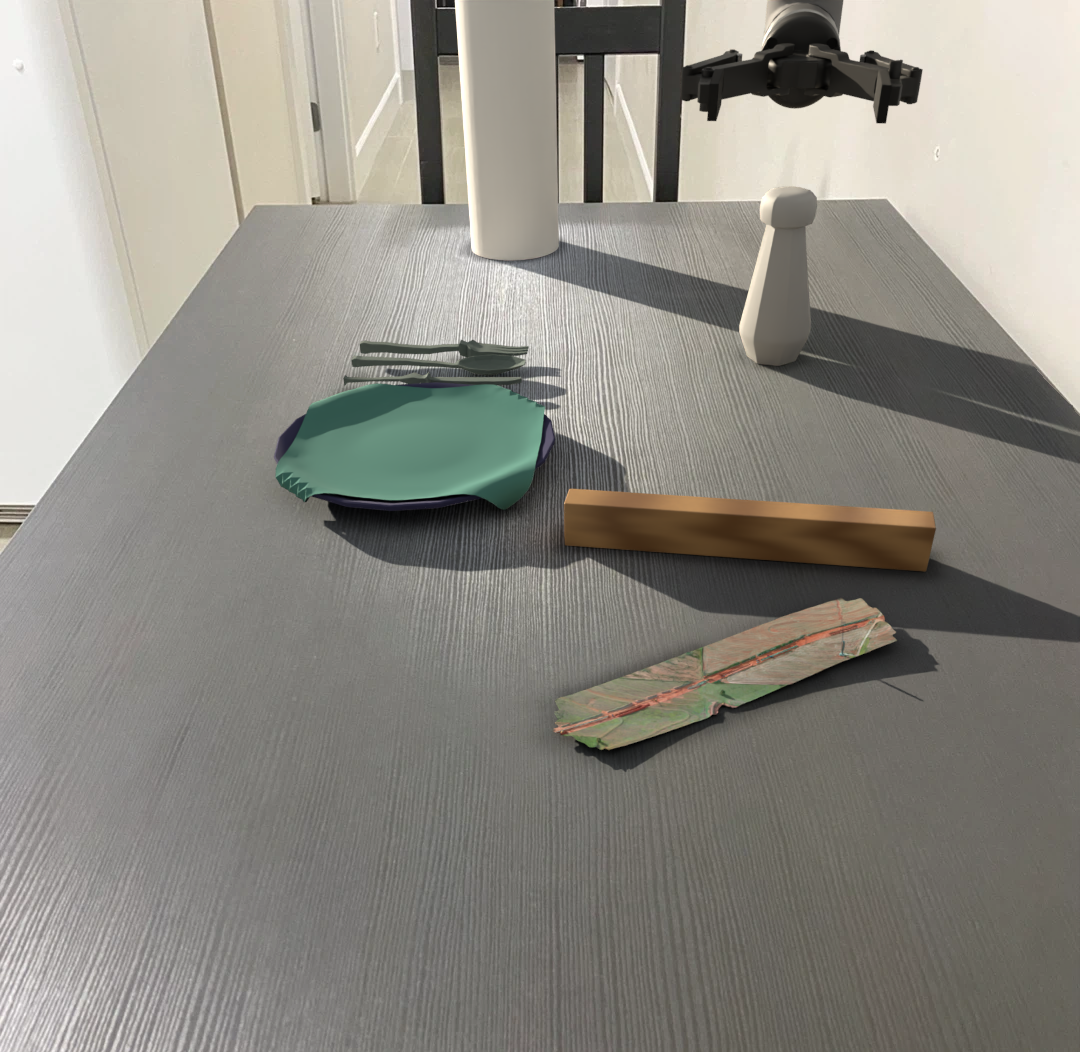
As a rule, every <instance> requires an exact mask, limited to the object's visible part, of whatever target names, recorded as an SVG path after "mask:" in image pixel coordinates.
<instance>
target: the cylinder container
mask: <svg viewBox="0 0 1080 1052" xmlns="http://www.w3.org/2000/svg"><path fill="white" fill-rule="evenodd" d="M454 7H455V8H454V9H455V22H456V23H455V24H456V36H457V39H456V40H457V50H458V52H457V54H458V67H459V83H460V96H461V111H462V125H463V138H464V141H463V142H464V154H465V168H466V169H465V170H466V171H465V172H466V183H467V184H466V185H467V186H466V187H467V199H468V200H467V202H468V214H469V228H470V246H471V251H472V253H473V254H475V255H476V256H479V257H480V258H485V259H488V260H489V259H490V260H495V261H524V260H533V259H537V258H542V257H545V256H549V255H551V254H553V253H555V252H556V251H558V249H559V247H560V246H559V245H560V234H559V233H560V232H559V231H560V228H559V185H558V184H559V181H558V177H559V176H558V131H557V130H558V127H557V124H558V123H557V75H556V74H557V73H556V72H557V71H556V69H557V68H556V21H555V19H556V17H555V0H454Z"/></svg>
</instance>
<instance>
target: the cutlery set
mask: <svg viewBox="0 0 1080 1052" xmlns="http://www.w3.org/2000/svg"><path fill="white" fill-rule="evenodd" d="M529 347H530V346H529V345H523V346H522V345H521V346H516V345H515V346H513V345H504V344H496V343H495V344H494V343H483V342H478V341H476V340H475V339H471V340H469V341H466V340H463V339H460V340H459V342H458V343H443V344H432V345H425V344H410V343H409V344H408V343H397V342H390V341H371V340H361V341H360V342H359V353H360V354H363V355H353V356H352V358H351V359H350V360H351V361H350V362H351V367H352V368H365V367H377V366H379V367H384V366H387V367H388V366H390V367H391V366H411V367H412V366H413V367H425V368H445V369H446V368H448V369H460V370H464V371H465V372H468V373H471V374H473V375H477V376H432V375H431V372H430V371H428V372H427V373H426V374H420V373H418V372H412V373H408V374H405V375H401V376H378V377H359V376H347V375H346V374H345V375H344V376H343V379H342V380H343V385H344V387H346V385H347V384H351V383H367V382H377V383H370V384H365V385H362V386H359V387H355V388H352V389H349V390H344V391H342V392H339V393H336V394H333V395H331V396H328V397H325V398H323V399H320V400H317V401H314V402H311V403H310V405H309V406H308V407H307V410H306V412H305V414H302V415H301V416H299V417H297V418H296V419H294V420H293V421H292V423H291V424H290V425H289V426H288V427H287V428H286V429H284V431H283V432H282V433H281V434H280V435H279V436H278V438H277V442H276V446H275V450H274V454H273V459H274V462H275V464H276V467H275V480H277V482H278V484H279V486H280V487H281V488H283V489H285V490H287V491H288V492H289V493H291V494H294V495H295V497H296V498H298V499H300V500H301V501H302V502H303V503H307V502H308V500H309V499H310V497H312V498H315V499H319V500H322V501H326V502H328V503H332V504H336V505H339V506H343V507H345V508H355V509H365V510H375V511H386V512H398V511H415V510H431V509H432V510H433V509H441V508H446V507H451V506H455V505H459V504H464V503H469V502H472V501H477V500H481V499H484V500H486V501H487V502H489V503H492V505H494V506H496V507H497V508H498V509H500V510H503V511H505V510H507V509H508V508H511V507H512V506H514V504H516V503H517V502H519V500H521V499H522V498H523V497H524V496H525V495H526V493H527V492H528V491H529V490H530V487H531V485H532V483H533V479H534V475H535V472H536V471H537V470H538V469H539V468H541V467H542V466H543V465H544V464H545V463H546V462H547V460H548V458H549V456H550V454H551V452H552V450H553V448H554V447H555V444H556V435H555V430H554V426H553V422H552V419H551V418H550V417H548V415H546V413H545V412H546V411H545V410H546V406H545V405H544V404H541V403H539V402H537V401H535V400H533V399H530V398H529V397H527V396H524V395H521V394H520V393H517V392H515V391H512V389H510V388H506V387H503V386H511V385H517V384H521V383H522V382H523V377H522V376H497V375H501V374H505V373H509V372H511V371H515V370H519V369H520V368H522V367H524V366H525V365H526V362H527V359H525V358H522V357H520V356H526V355H528V352H529V349H530V348H529ZM449 352H458V354H459V356H460V357H464V358H461V359H458V360H457V361H455V362H447V361H441V360H430V359H429V360H428V359H418V358H409V357H387V356H367V354H368V355H369V354H382V353H385V354H386V353H387V354H399V355H433V354H434V355H435V354H440V353H449ZM379 382H386V383H379ZM388 382H392V383H393V382H400V383H402V384H389V383H388Z"/></svg>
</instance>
